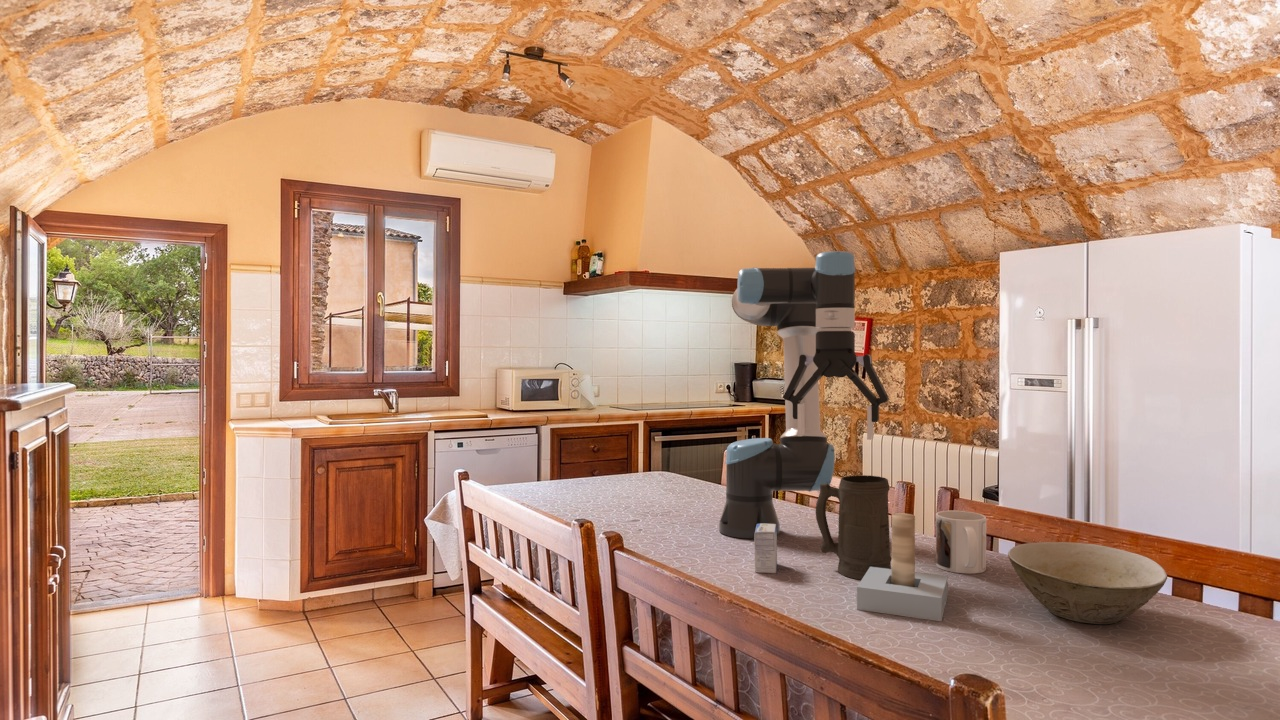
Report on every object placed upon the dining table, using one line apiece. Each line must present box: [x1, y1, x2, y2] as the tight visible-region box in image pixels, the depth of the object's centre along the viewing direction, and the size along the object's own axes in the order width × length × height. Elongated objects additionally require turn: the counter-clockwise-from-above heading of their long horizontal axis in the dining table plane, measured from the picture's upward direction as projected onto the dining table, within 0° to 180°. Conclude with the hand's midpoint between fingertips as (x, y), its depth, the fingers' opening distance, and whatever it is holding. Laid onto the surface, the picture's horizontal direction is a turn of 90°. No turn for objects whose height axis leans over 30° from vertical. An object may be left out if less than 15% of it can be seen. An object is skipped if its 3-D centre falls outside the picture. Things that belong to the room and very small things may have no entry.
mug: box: [935, 509, 987, 575], centre depth 161 cm, size 10×12×11 cm
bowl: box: [1007, 541, 1168, 625], centre depth 133 cm, size 24×24×10 cm
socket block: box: [856, 567, 949, 622], centre depth 139 cm, size 14×14×4 cm
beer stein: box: [815, 474, 892, 581], centre depth 159 cm, size 15×11×20 cm
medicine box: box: [753, 523, 778, 574], centre depth 162 cm, size 8×4×9 cm, turn 169°
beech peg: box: [891, 512, 916, 587], centre depth 139 cm, size 4×4×16 cm
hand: (835, 437), depth 152 cm, fingers open, 13 cm apart
